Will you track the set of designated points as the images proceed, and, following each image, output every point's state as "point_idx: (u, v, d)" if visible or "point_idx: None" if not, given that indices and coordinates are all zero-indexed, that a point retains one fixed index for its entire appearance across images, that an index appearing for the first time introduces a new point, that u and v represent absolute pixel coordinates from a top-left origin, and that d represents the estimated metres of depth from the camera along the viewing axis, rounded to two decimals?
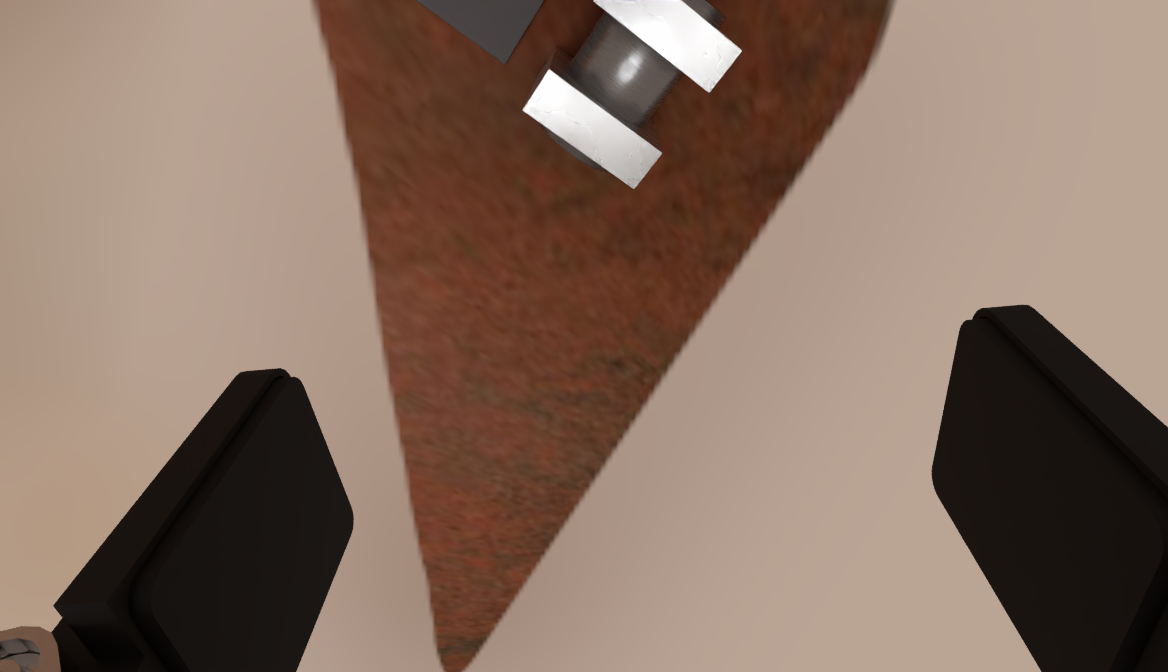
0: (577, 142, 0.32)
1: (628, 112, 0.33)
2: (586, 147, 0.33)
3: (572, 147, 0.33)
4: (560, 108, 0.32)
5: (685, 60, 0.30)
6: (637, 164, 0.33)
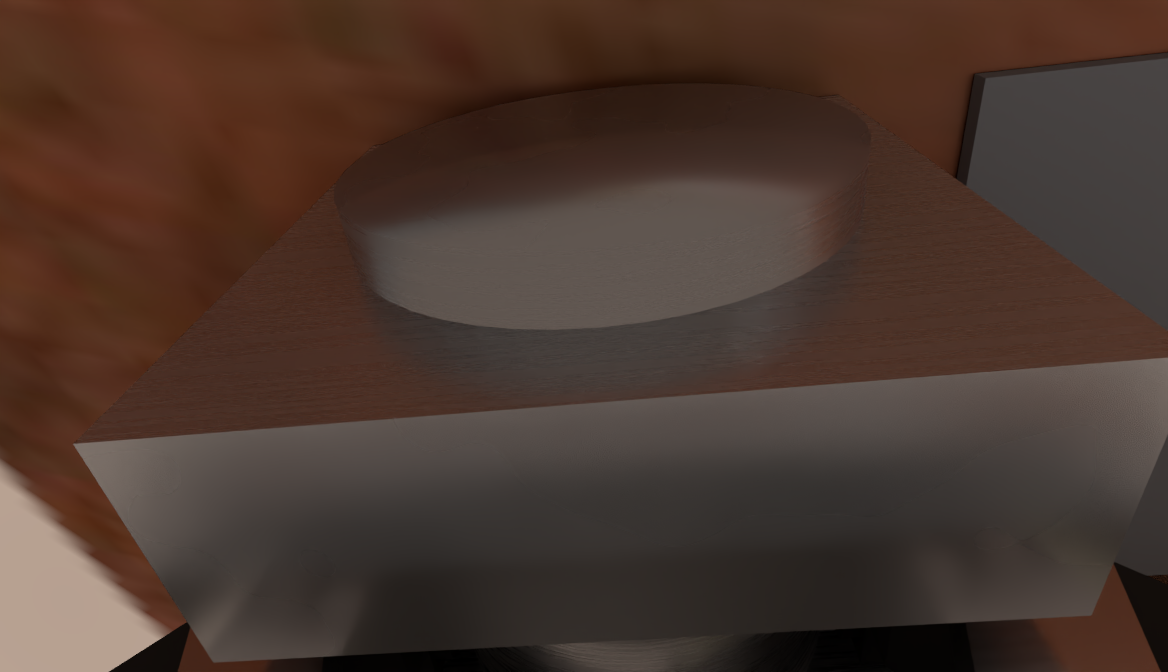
0: (662, 431, 0.04)
1: None
2: (583, 452, 0.04)
3: (637, 284, 0.05)
4: (914, 516, 0.04)
5: None
6: (233, 555, 0.05)
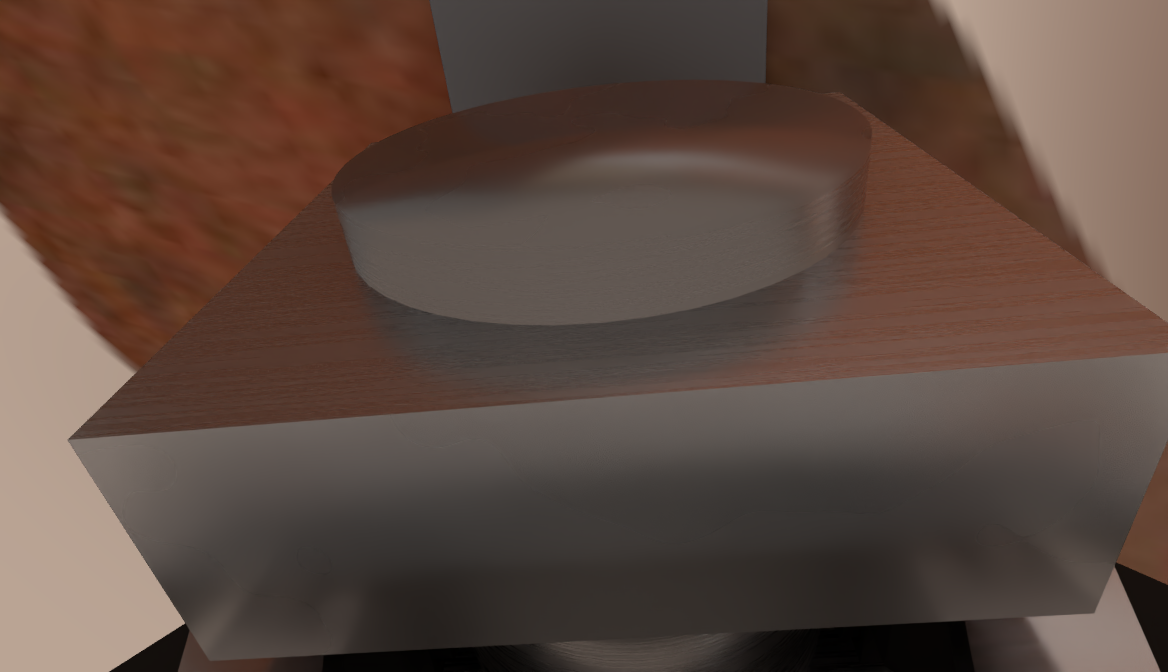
0: (662, 427, 0.04)
1: None
2: (582, 448, 0.04)
3: (637, 279, 0.04)
4: (917, 512, 0.04)
5: None
6: (231, 552, 0.05)
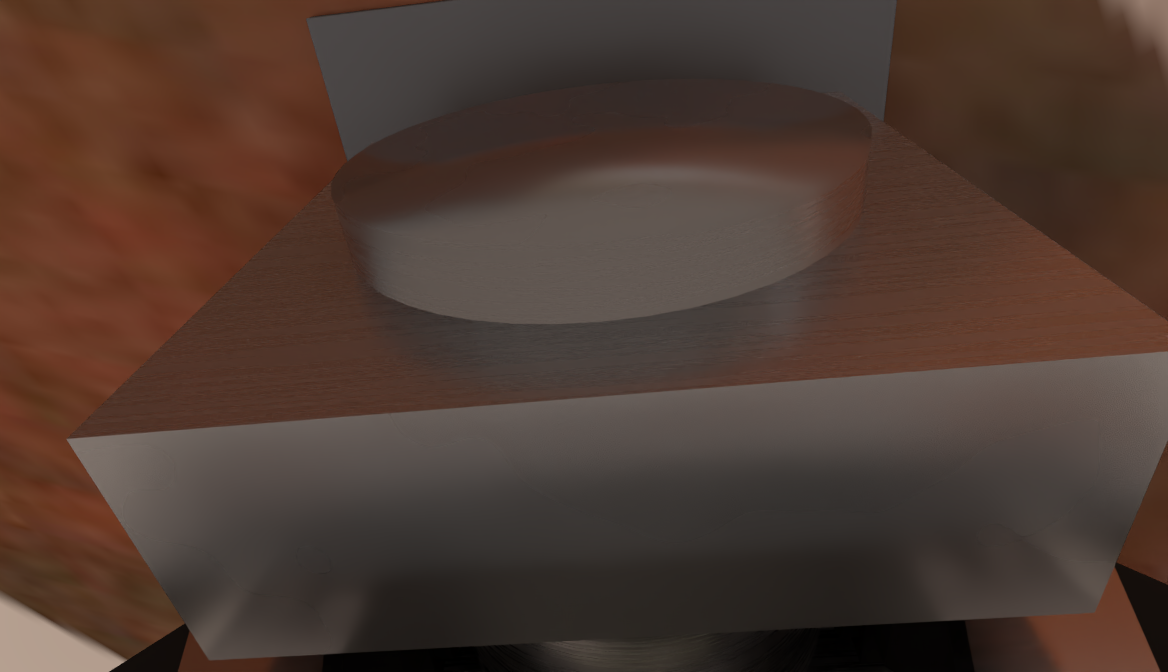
0: (662, 426, 0.04)
1: None
2: (582, 446, 0.04)
3: (637, 277, 0.04)
4: (916, 511, 0.04)
5: None
6: (228, 552, 0.05)
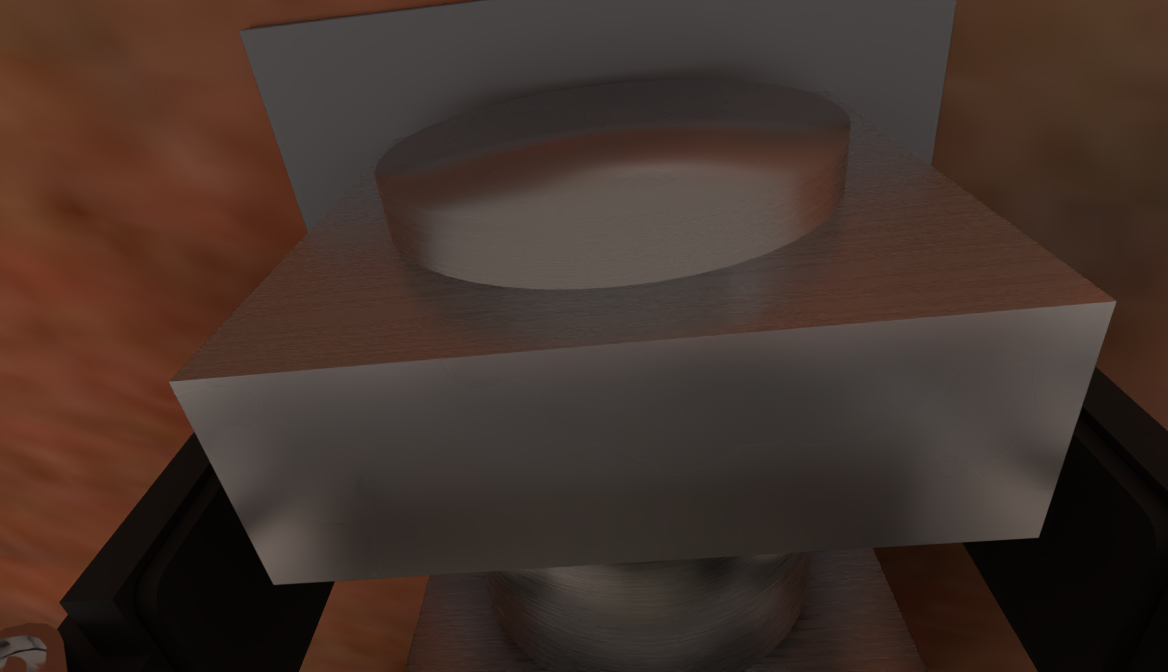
0: (668, 370, 0.05)
1: None
2: (602, 387, 0.05)
3: (647, 248, 0.05)
4: (883, 446, 0.05)
5: None
6: (298, 483, 0.05)
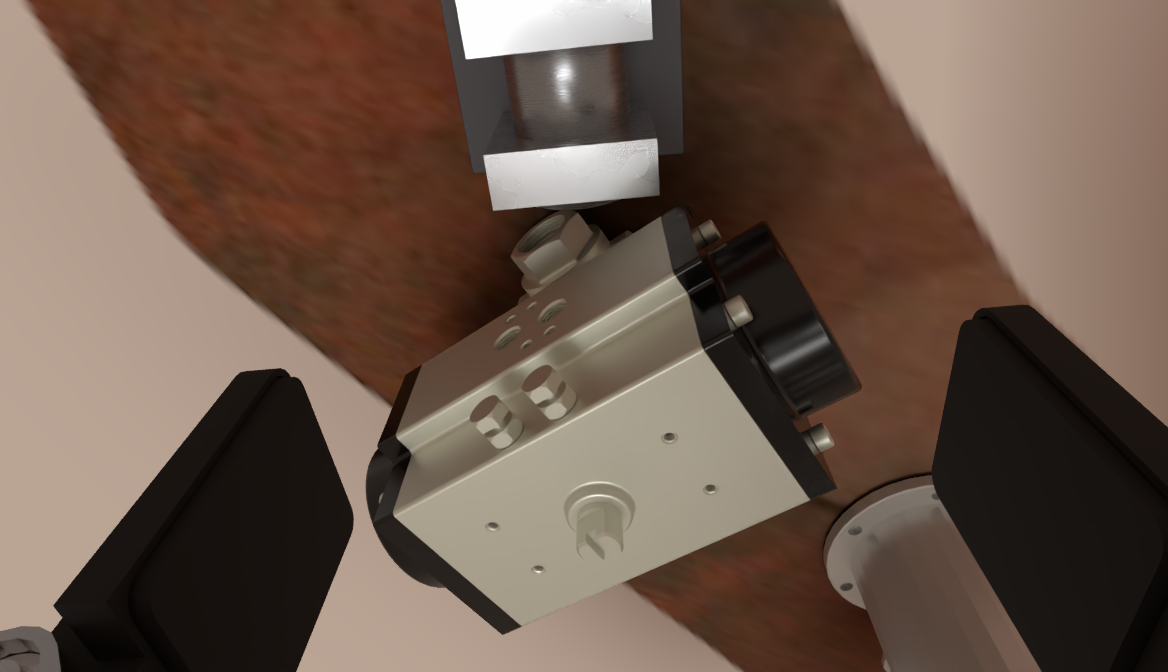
0: None
1: (534, 58, 0.25)
2: None
3: None
4: (610, 8, 0.23)
5: (531, 162, 0.26)
6: (477, 21, 0.23)
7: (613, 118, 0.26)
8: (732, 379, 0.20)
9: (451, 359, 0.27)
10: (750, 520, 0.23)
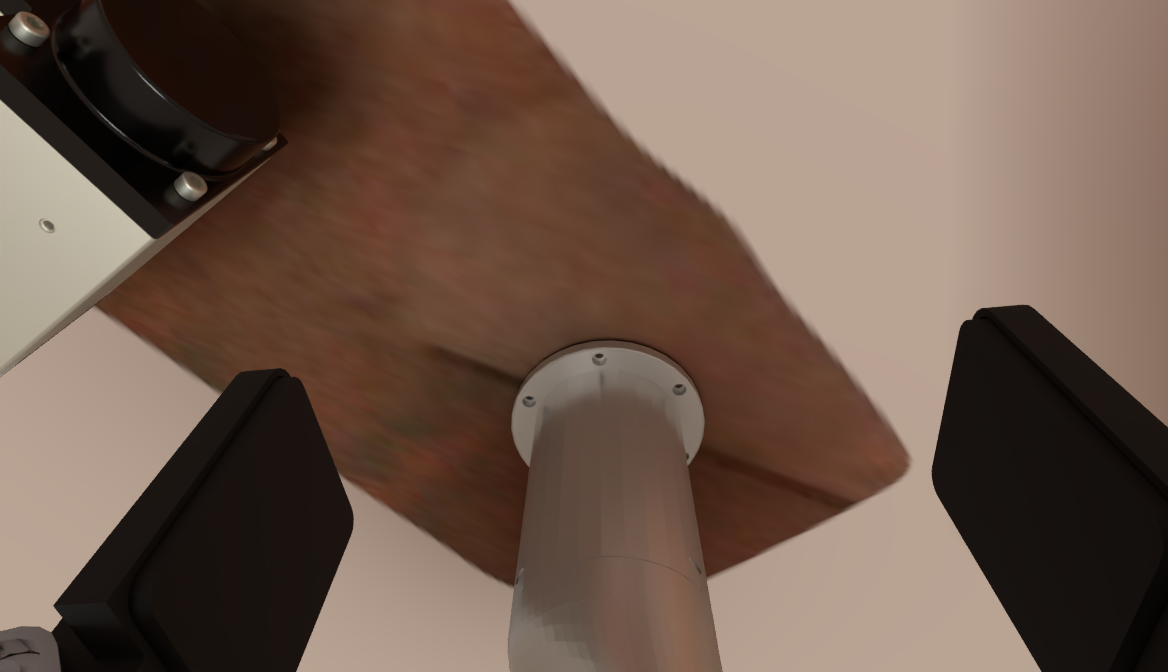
0: None
1: None
2: None
3: None
4: None
5: None
6: None
7: None
8: None
9: None
10: (107, 265, 0.22)
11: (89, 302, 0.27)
